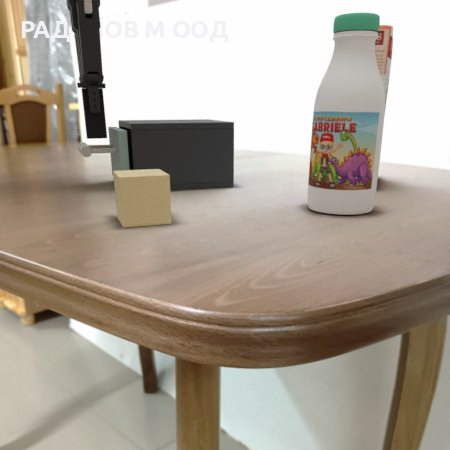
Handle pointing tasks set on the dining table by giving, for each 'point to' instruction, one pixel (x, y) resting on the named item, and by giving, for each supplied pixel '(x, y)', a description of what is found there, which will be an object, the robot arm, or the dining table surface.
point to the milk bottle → (348, 121)
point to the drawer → (113, 149)
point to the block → (142, 197)
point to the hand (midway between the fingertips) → (97, 137)
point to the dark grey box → (185, 151)
